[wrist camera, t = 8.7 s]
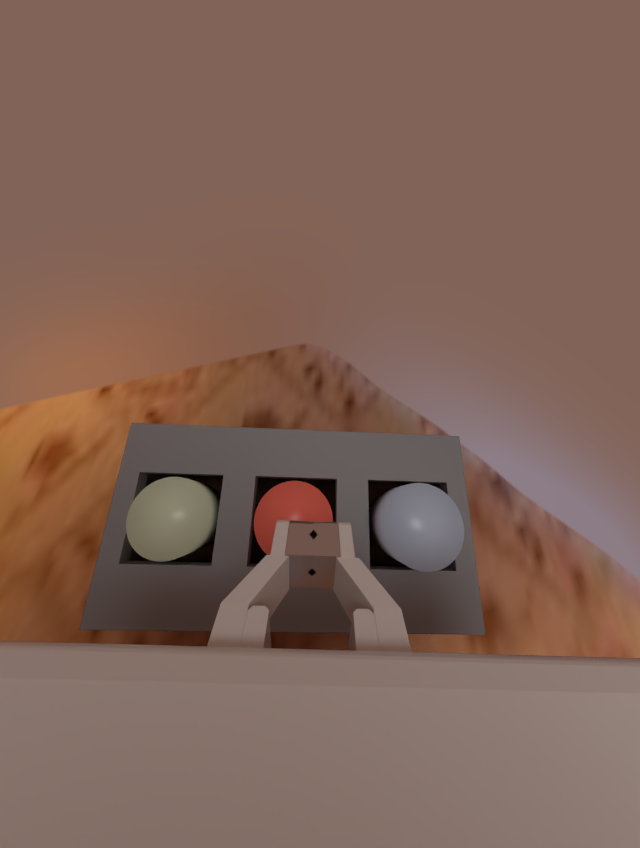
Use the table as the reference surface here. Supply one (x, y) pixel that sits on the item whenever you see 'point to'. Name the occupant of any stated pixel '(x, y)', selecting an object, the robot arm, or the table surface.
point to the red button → (289, 509)
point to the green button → (172, 518)
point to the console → (241, 467)
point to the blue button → (417, 526)
